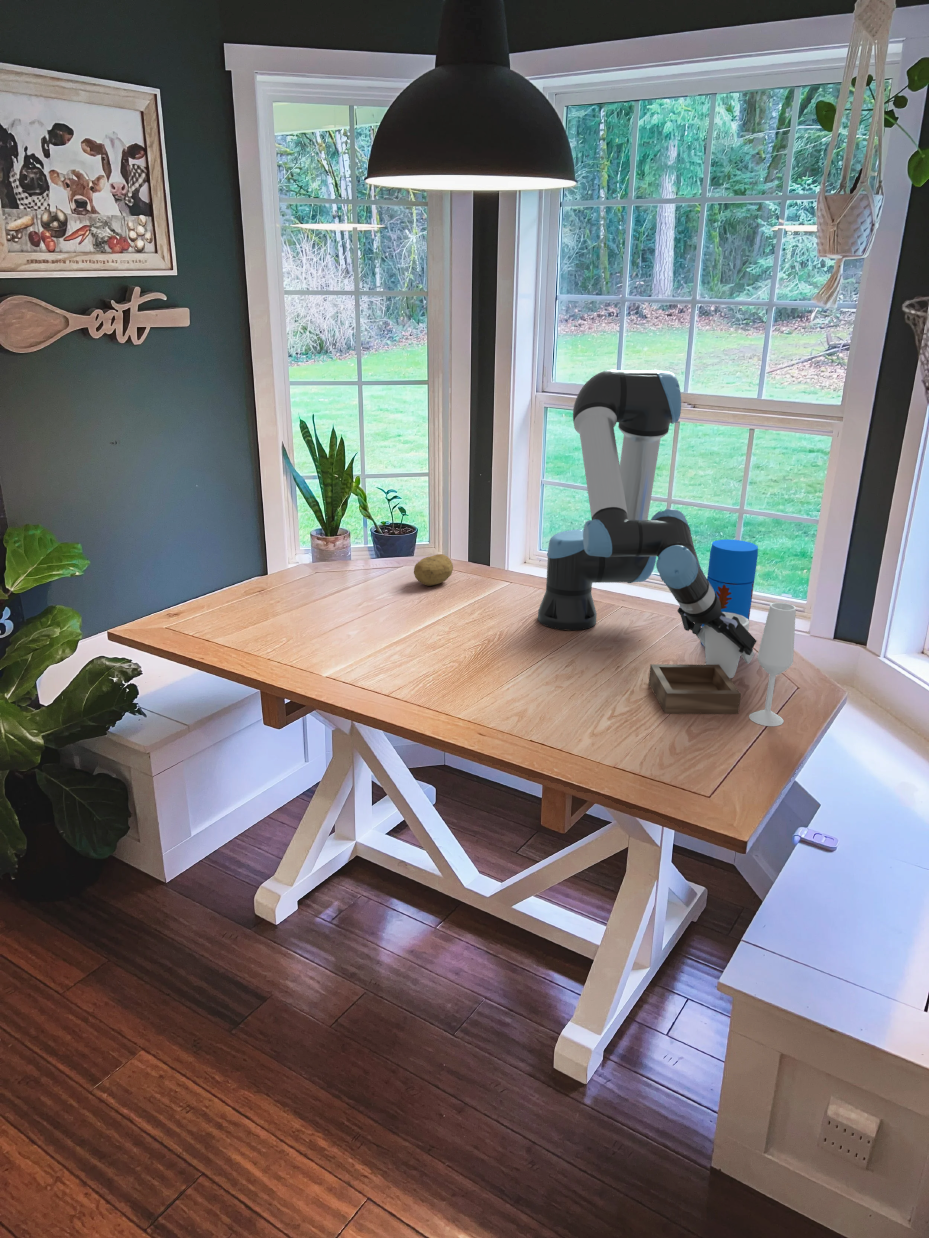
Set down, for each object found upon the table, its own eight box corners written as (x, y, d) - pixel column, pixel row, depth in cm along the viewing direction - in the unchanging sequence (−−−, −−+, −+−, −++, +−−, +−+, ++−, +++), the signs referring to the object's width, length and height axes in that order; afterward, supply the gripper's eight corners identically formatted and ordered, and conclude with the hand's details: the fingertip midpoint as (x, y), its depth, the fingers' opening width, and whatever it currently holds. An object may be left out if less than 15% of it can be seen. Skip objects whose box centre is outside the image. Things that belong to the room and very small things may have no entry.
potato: (404, 586, 256) (403, 560, 253) (433, 575, 267) (433, 549, 264) (431, 593, 251) (431, 566, 248) (460, 581, 262) (460, 555, 259)
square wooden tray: (648, 683, 195) (650, 664, 194) (716, 683, 196) (718, 664, 194) (665, 713, 181) (667, 693, 180) (738, 713, 182) (740, 693, 180)
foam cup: (695, 677, 199) (702, 622, 194) (701, 662, 207) (708, 609, 202) (739, 684, 195) (747, 628, 191) (744, 669, 204) (751, 615, 199)
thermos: (694, 647, 216) (706, 547, 208) (705, 633, 225) (716, 537, 217) (740, 655, 211) (754, 553, 203) (749, 641, 220) (762, 543, 212)
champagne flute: (745, 710, 183) (761, 599, 175) (779, 712, 183) (796, 601, 175) (752, 725, 177) (768, 611, 169) (787, 727, 177) (805, 613, 168)
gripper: (645, 601, 193) (680, 651, 208) (736, 629, 178) (767, 680, 193) (662, 573, 194) (695, 624, 210) (754, 598, 179) (782, 652, 195)
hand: (729, 651), depth 202 cm, fingers closed on foam cup, 9 cm apart
